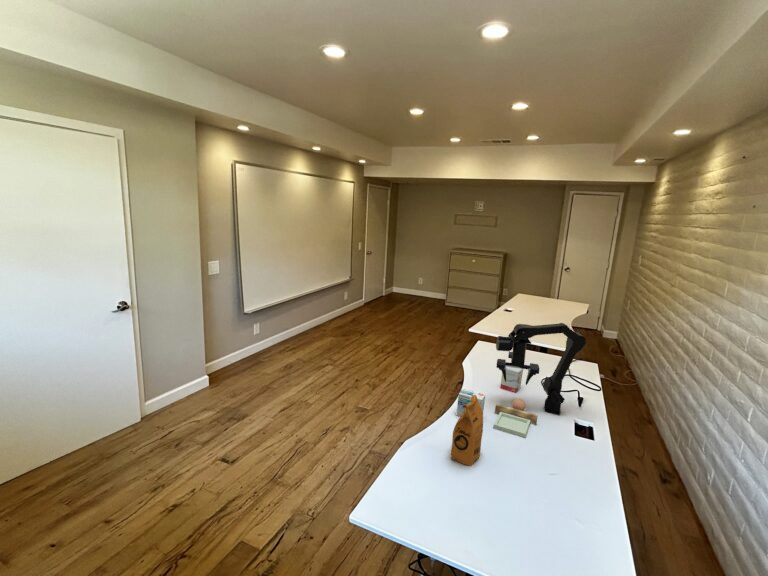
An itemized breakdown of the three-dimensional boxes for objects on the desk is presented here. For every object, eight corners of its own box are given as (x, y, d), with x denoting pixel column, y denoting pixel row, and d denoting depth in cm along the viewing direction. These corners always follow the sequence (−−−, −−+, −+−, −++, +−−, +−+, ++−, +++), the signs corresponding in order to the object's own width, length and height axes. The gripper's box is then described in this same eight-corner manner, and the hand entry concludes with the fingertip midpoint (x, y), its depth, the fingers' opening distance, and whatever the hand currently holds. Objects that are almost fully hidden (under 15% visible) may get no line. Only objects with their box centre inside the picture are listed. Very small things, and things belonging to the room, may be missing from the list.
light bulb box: (455, 415, 171) (458, 393, 169) (460, 409, 177) (462, 387, 175) (479, 422, 166) (482, 399, 164) (483, 416, 172) (485, 393, 170)
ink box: (515, 393, 197) (518, 371, 195) (499, 388, 202) (502, 367, 200) (521, 388, 204) (523, 367, 202) (505, 383, 209) (507, 363, 207)
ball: (525, 410, 180) (527, 398, 179) (523, 415, 175) (525, 403, 174) (512, 406, 183) (514, 394, 182) (510, 411, 177) (511, 399, 176)
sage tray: (529, 424, 167) (530, 420, 167) (525, 438, 156) (525, 433, 156) (499, 415, 173) (500, 411, 173) (493, 428, 162) (493, 424, 162)
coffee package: (445, 458, 140) (451, 402, 136) (459, 443, 150) (465, 390, 146) (471, 469, 134) (477, 411, 130) (484, 452, 144) (490, 398, 140)
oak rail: (536, 423, 168) (537, 415, 167) (536, 425, 167) (537, 416, 166) (495, 411, 177) (496, 403, 176) (494, 413, 175) (495, 405, 174)
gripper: (539, 349, 182) (535, 379, 185) (498, 343, 187) (495, 373, 190) (541, 356, 171) (537, 389, 174) (497, 350, 177) (494, 382, 180)
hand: (515, 383), depth 180 cm, fingers open, 9 cm apart
